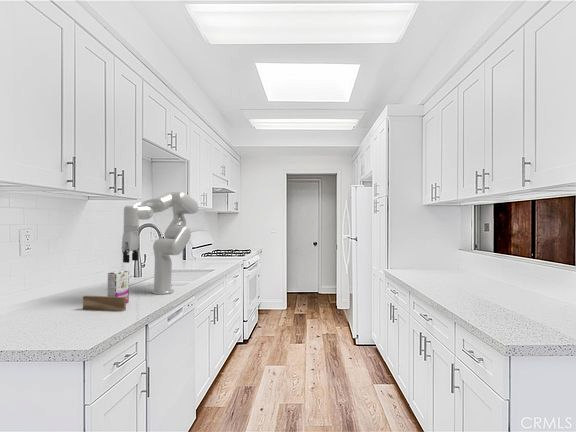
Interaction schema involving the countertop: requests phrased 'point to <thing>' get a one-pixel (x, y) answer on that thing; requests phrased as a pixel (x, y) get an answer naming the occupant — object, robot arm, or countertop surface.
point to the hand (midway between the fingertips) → (130, 261)
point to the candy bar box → (118, 284)
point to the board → (104, 303)
